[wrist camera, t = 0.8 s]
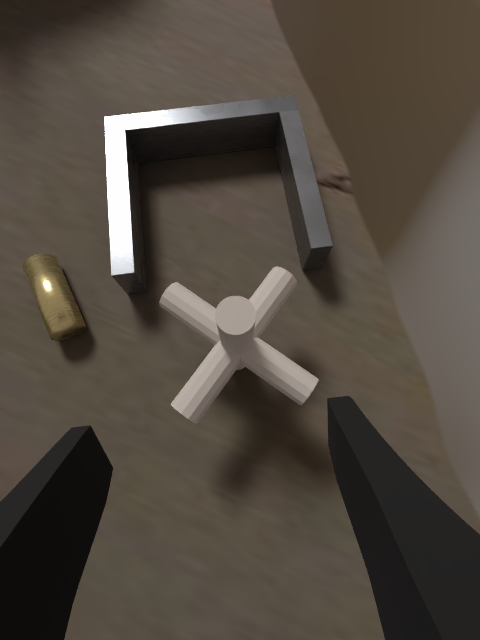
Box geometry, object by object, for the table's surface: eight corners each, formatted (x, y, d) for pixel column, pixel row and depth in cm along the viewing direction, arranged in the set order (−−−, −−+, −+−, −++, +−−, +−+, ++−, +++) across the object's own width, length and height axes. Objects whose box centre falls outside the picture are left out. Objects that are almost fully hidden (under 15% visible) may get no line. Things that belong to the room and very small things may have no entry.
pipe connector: (332, 341, 25) (389, 290, 16) (254, 461, 23) (265, 487, 13) (222, 268, 27) (212, 182, 17) (138, 373, 25) (74, 340, 15)
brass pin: (85, 334, 26) (87, 319, 24) (50, 344, 25) (49, 329, 23) (58, 269, 28) (57, 251, 26) (23, 276, 26) (20, 256, 24)
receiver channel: (321, 267, 27) (332, 245, 24) (127, 294, 26) (111, 275, 23) (288, 130, 31) (294, 95, 27) (119, 151, 30) (104, 117, 27)
